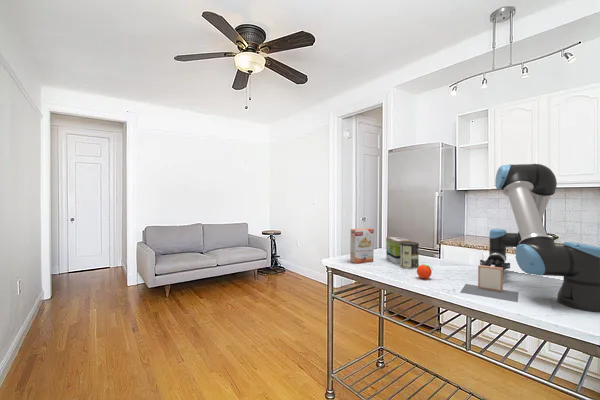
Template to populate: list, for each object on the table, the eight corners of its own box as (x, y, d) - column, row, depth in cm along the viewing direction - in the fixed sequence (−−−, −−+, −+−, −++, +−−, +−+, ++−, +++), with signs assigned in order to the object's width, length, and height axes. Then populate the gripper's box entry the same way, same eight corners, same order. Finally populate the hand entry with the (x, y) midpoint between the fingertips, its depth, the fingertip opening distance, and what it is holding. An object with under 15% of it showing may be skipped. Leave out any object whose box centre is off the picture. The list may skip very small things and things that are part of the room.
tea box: (385, 259, 196) (385, 236, 196) (400, 258, 197) (400, 236, 197) (395, 264, 181) (395, 240, 181) (411, 264, 182) (411, 239, 182)
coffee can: (417, 265, 179) (417, 241, 179) (420, 269, 169) (420, 244, 169) (399, 264, 181) (399, 241, 181) (401, 268, 171) (401, 244, 171)
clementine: (435, 278, 151) (435, 264, 151) (431, 281, 146) (431, 267, 146) (419, 275, 156) (419, 262, 156) (414, 278, 151) (414, 264, 151)
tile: (502, 290, 130) (502, 267, 130) (502, 292, 128) (502, 268, 128) (478, 287, 135) (478, 264, 135) (478, 288, 133) (478, 265, 133)
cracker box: (355, 264, 184) (355, 229, 183) (349, 262, 189) (349, 228, 189) (374, 261, 189) (374, 228, 189) (368, 260, 195) (368, 227, 194)
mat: (518, 293, 128) (518, 292, 128) (517, 303, 116) (517, 302, 116) (465, 284, 140) (465, 283, 140) (459, 293, 128) (459, 292, 128)
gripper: (511, 270, 151) (509, 281, 133) (481, 266, 159) (475, 276, 141) (511, 255, 151) (509, 264, 133) (481, 252, 159) (475, 260, 140)
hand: (491, 270), depth 137 cm, fingers closed
